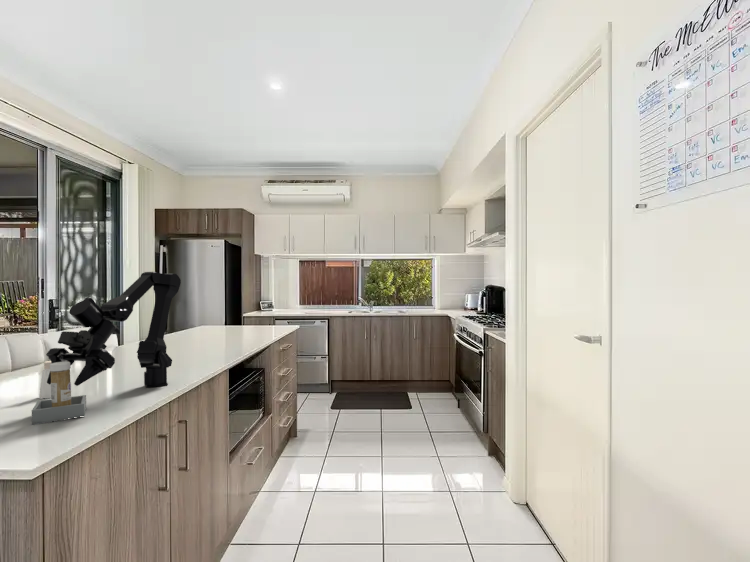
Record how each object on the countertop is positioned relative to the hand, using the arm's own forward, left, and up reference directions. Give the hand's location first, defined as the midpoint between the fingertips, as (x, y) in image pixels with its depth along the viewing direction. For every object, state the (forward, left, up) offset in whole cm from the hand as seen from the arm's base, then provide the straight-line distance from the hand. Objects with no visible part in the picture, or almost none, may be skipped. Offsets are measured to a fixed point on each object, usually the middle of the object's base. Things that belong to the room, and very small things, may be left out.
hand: (61, 384), depth 118 cm
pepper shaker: (+5, -27, -8) cm, 28 cm away
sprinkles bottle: (0, 0, -8) cm, 8 cm away
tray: (0, 0, -8) cm, 8 cm away
